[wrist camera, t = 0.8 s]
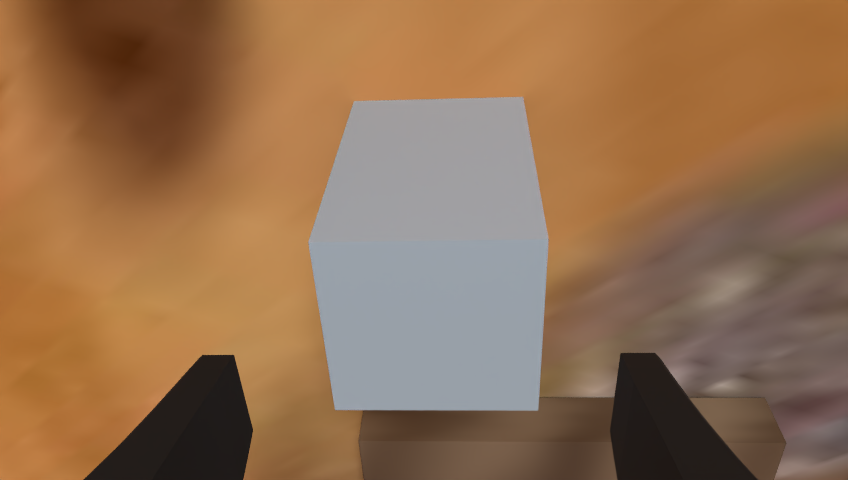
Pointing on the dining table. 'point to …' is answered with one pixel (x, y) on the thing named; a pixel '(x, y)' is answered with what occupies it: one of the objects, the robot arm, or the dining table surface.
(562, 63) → the dining table surface
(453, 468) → the walnut board
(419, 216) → the blue-grey block
